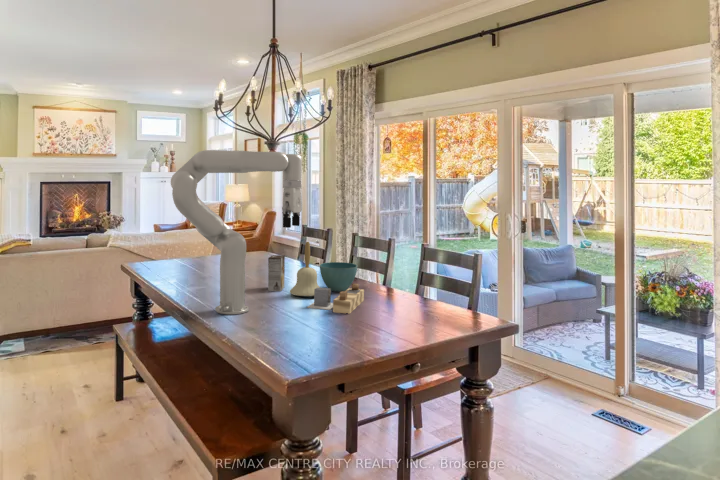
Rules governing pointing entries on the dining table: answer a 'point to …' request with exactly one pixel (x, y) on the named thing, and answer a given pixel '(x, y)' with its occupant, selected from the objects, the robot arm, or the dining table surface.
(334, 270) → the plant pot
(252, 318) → the dining table surface
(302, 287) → the handbell
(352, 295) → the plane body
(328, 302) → the tall grey box
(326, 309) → the mat
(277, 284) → the coffee box
